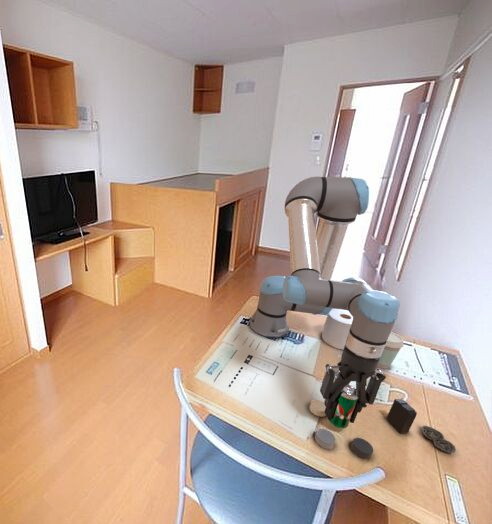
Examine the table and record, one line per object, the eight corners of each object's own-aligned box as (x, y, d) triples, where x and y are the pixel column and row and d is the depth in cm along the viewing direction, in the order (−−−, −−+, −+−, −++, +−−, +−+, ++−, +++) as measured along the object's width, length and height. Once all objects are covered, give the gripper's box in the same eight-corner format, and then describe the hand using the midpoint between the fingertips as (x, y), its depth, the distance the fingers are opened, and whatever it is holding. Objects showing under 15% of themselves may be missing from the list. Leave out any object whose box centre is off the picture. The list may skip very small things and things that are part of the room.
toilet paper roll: (357, 339, 124) (365, 315, 120) (353, 354, 116) (361, 328, 111) (324, 328, 131) (331, 305, 127) (318, 341, 123) (325, 317, 119)
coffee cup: (384, 356, 115) (394, 329, 110) (399, 372, 107) (411, 344, 102) (360, 354, 116) (369, 328, 111) (374, 370, 108) (384, 342, 103)
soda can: (345, 417, 87) (356, 385, 82) (349, 432, 83) (362, 399, 78) (325, 412, 89) (335, 380, 84) (329, 426, 84) (340, 394, 80)
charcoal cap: (347, 449, 80) (350, 443, 79) (354, 440, 83) (357, 434, 82) (366, 462, 77) (369, 456, 76) (373, 453, 79) (376, 447, 79)
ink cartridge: (408, 433, 85) (418, 412, 82) (400, 434, 85) (410, 412, 81) (393, 418, 89) (402, 398, 86) (386, 418, 89) (395, 398, 86)
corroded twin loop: (442, 455, 79) (443, 452, 78) (414, 428, 86) (416, 425, 86) (460, 454, 79) (462, 452, 78) (431, 427, 86) (433, 425, 86)
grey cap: (311, 439, 83) (313, 434, 82) (319, 431, 85) (321, 425, 84) (328, 452, 79) (330, 446, 79) (336, 443, 82) (338, 437, 81)
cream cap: (306, 409, 92) (308, 403, 91) (313, 402, 95) (315, 397, 94) (321, 419, 89) (323, 413, 88) (328, 412, 91) (330, 406, 90)
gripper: (329, 356, 74) (308, 424, 83) (412, 364, 71) (381, 434, 80) (318, 337, 81) (300, 402, 90) (393, 344, 78) (367, 410, 87)
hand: (338, 417), depth 85 cm, fingers closed on soda can, 5 cm apart
